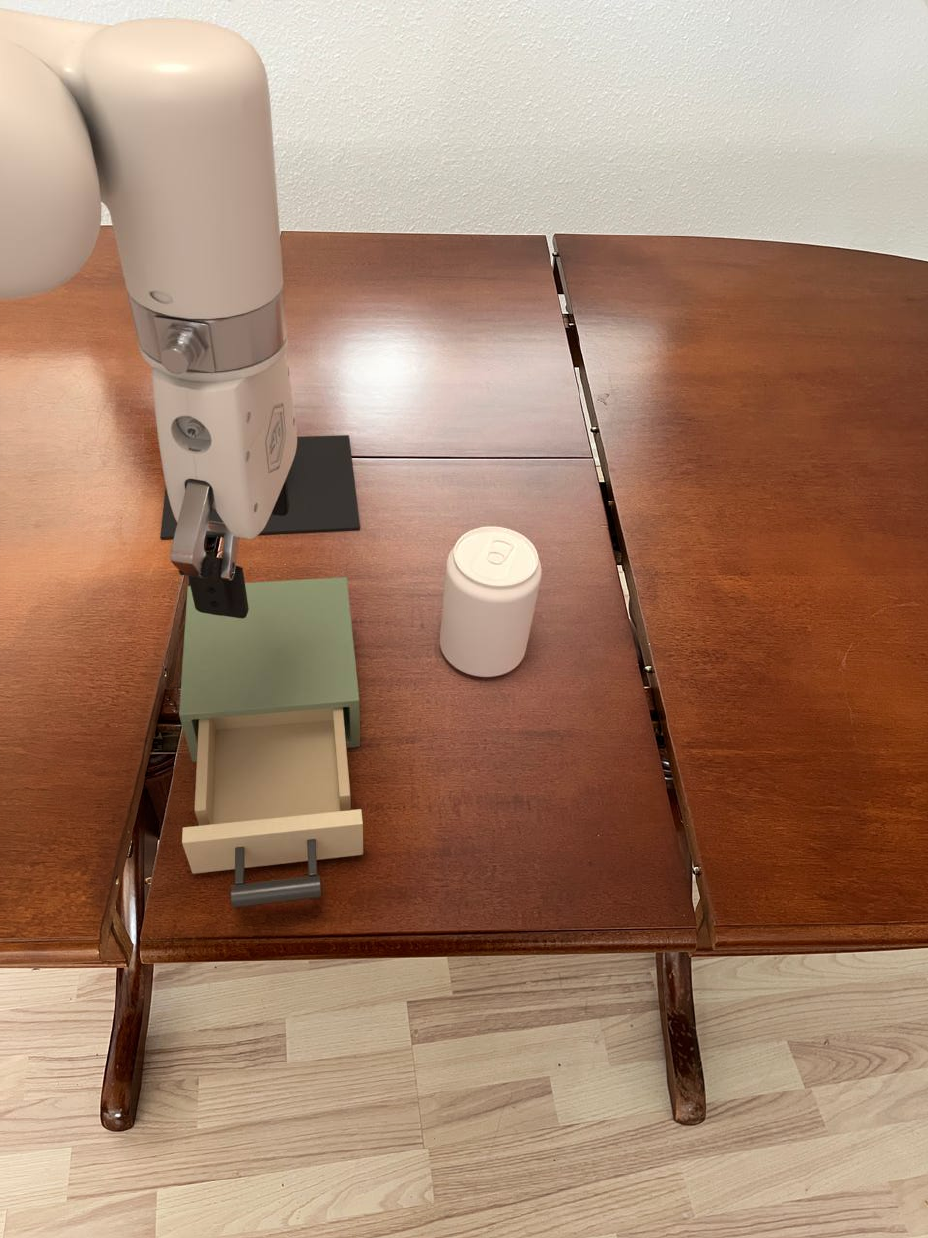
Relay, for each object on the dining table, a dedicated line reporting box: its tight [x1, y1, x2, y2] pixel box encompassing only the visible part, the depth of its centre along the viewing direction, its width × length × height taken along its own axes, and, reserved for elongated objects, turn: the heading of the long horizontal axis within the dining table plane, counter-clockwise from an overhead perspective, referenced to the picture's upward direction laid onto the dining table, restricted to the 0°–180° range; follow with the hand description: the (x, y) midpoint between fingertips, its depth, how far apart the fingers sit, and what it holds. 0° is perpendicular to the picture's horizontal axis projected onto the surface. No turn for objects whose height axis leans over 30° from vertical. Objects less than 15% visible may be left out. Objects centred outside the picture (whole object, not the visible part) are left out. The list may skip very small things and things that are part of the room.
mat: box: [160, 434, 361, 541], centre depth 93 cm, size 20×16×1 cm
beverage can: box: [439, 525, 543, 678], centre depth 76 cm, size 8×8×12 cm
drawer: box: [181, 707, 364, 909], centre depth 64 cm, size 17×12×5 cm
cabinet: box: [178, 576, 361, 763], centre depth 73 cm, size 14×14×7 cm
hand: (245, 558), depth 56 cm, fingers open, 9 cm apart
